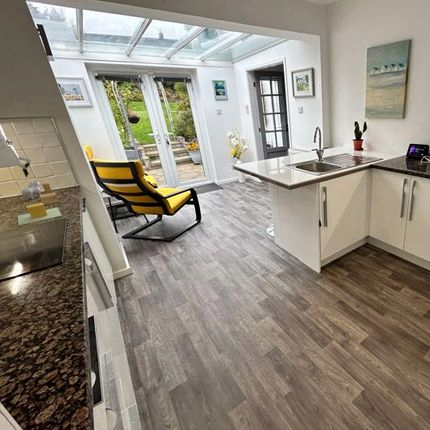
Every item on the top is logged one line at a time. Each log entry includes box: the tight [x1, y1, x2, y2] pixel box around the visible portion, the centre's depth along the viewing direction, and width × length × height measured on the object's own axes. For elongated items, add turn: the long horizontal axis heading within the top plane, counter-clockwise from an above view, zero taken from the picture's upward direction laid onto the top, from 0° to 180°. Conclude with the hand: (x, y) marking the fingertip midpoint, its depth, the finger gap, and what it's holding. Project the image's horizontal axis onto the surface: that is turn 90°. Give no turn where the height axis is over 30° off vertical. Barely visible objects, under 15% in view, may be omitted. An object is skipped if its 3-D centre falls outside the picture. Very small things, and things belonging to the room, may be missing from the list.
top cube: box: [26, 202, 48, 219], centre depth 140 cm, size 6×6×6 cm
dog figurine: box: [21, 180, 42, 201], centre depth 173 cm, size 5×13×11 cm, turn 12°
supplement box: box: [40, 181, 54, 194], centre depth 171 cm, size 3×3×10 cm
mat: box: [17, 207, 63, 227], centre depth 141 cm, size 20×16×1 cm
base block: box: [38, 192, 60, 206], centre depth 162 cm, size 7×7×5 cm
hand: (13, 178), depth 133 cm, fingers open, 9 cm apart
